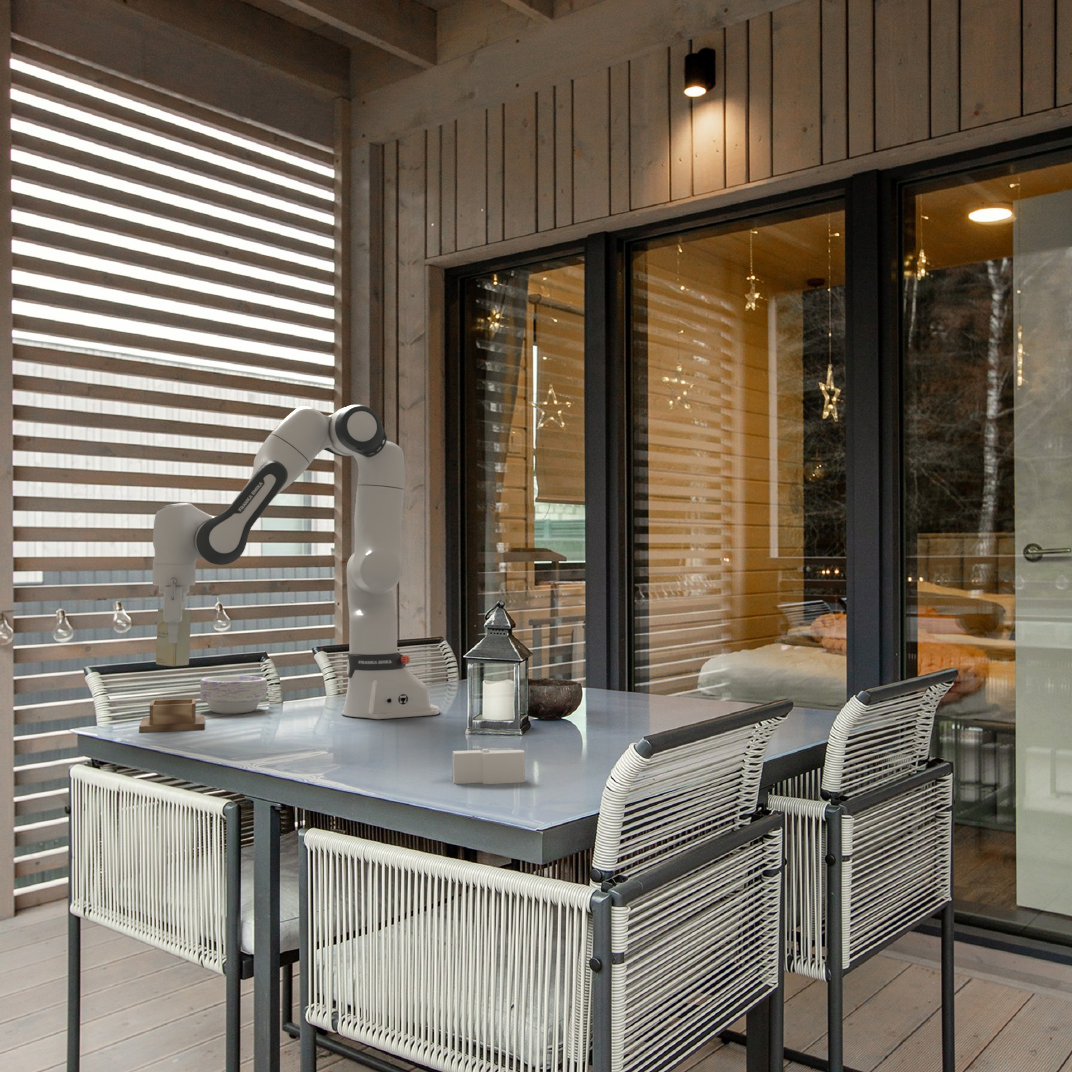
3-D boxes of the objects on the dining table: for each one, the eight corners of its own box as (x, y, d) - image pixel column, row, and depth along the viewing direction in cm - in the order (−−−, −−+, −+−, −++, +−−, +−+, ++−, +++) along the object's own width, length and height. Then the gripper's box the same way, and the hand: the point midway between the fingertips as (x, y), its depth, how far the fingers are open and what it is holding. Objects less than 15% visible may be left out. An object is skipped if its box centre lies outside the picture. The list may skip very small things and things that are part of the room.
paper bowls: (276, 707, 257) (276, 674, 257) (251, 716, 242) (251, 682, 242) (217, 706, 259) (217, 673, 259) (188, 715, 244) (188, 681, 244)
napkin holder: (542, 781, 175) (542, 746, 175) (510, 795, 165) (510, 758, 165) (463, 773, 182) (463, 739, 182) (428, 786, 171) (428, 750, 172)
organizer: (204, 720, 237) (204, 696, 237) (204, 729, 224) (204, 704, 224) (142, 722, 233) (143, 699, 233) (139, 732, 220) (139, 707, 220)
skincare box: (155, 664, 229) (155, 608, 229) (172, 663, 232) (173, 607, 232) (173, 666, 225) (174, 609, 225) (191, 664, 229) (191, 608, 229)
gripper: (188, 578, 220) (188, 644, 220) (190, 576, 240) (189, 637, 239) (156, 578, 218) (156, 645, 218) (160, 576, 238) (160, 638, 237)
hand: (173, 641), depth 229 cm, fingers closed on skincare box, 7 cm apart
